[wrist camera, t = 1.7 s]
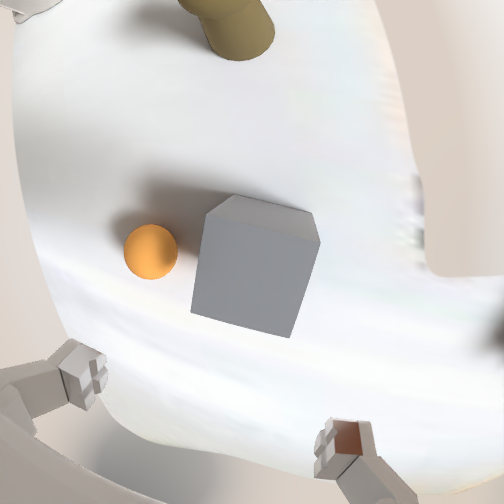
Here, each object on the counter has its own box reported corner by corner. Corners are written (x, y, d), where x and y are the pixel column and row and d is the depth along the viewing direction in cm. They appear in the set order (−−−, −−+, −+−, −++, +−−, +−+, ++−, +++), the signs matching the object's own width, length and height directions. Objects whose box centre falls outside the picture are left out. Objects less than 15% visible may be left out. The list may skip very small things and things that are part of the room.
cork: (205, 62, 22) (152, 16, 12) (211, 8, 21) (168, -53, 10) (273, 61, 22) (259, 6, 12) (276, 6, 20) (264, -63, 10)
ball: (130, 240, 29) (104, 256, 24) (161, 208, 27) (136, 220, 23) (162, 276, 30) (140, 298, 25) (195, 247, 28) (176, 267, 24)
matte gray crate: (233, 194, 26) (206, 214, 18) (311, 213, 26) (320, 242, 17) (219, 266, 28) (190, 312, 20) (291, 284, 28) (289, 338, 20)
